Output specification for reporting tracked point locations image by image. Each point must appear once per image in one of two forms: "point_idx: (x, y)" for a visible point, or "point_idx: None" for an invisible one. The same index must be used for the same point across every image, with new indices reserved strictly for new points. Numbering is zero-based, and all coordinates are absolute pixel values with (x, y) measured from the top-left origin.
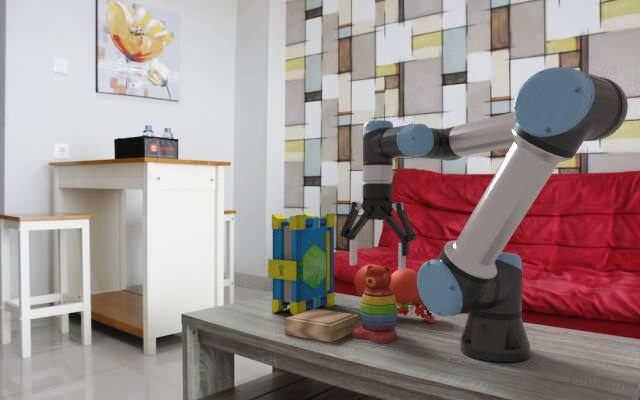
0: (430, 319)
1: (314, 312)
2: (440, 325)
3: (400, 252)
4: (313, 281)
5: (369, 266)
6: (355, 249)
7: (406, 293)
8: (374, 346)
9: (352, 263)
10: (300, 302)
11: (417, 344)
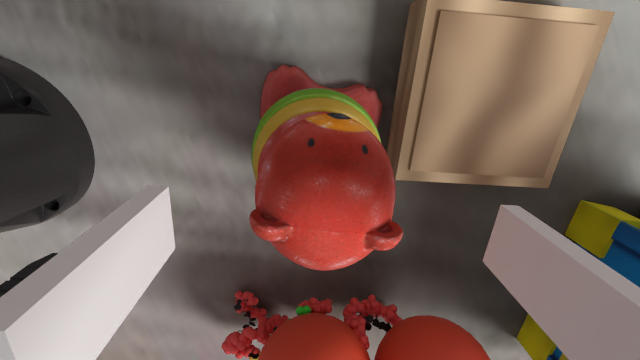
0: (241, 296)
1: (534, 131)
2: (221, 292)
3: (68, 253)
4: None
5: (391, 236)
6: (563, 316)
7: (291, 328)
8: (283, 29)
9: (506, 214)
10: (610, 233)
11: (193, 109)
